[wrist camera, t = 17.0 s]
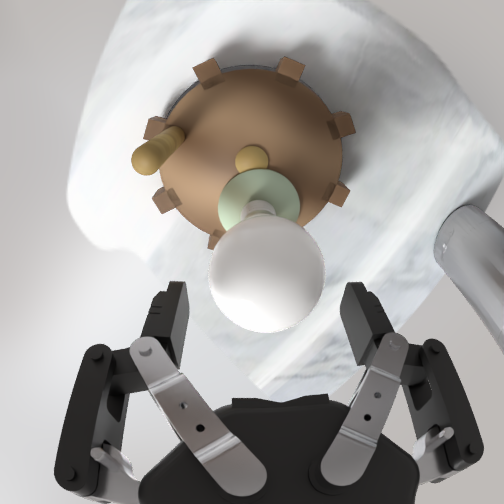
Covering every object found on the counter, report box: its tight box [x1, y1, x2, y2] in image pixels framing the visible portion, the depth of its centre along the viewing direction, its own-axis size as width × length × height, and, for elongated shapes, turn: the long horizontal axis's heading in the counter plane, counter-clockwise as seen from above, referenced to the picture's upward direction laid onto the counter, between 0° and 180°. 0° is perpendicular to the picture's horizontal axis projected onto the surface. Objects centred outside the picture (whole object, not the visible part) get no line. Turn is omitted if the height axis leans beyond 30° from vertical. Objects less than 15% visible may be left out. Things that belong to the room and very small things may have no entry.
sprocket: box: [131, 57, 356, 250], centre depth 18 cm, size 17×17×9 cm
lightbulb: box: [208, 200, 326, 333], centre depth 17 cm, size 6×6×11 cm
